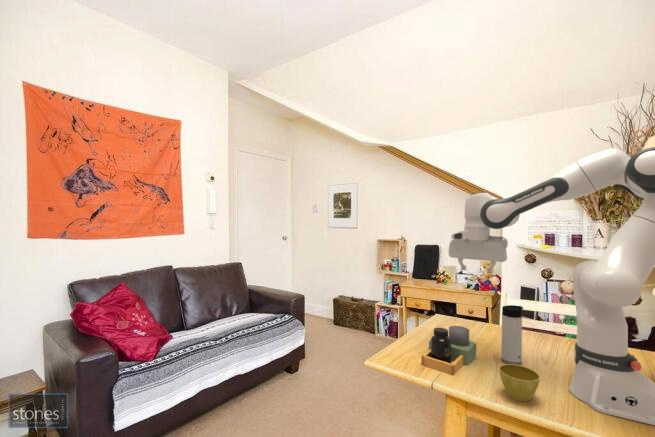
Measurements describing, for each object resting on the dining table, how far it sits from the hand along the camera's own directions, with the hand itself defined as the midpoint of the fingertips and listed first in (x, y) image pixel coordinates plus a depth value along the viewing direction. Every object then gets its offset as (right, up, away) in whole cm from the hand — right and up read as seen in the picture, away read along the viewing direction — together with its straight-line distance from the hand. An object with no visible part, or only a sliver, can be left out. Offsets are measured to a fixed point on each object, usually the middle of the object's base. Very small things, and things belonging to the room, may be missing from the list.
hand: (476, 271), depth 120 cm
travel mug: (+10, -31, -7) cm, 34 cm away
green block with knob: (-10, -31, -2) cm, 33 cm away
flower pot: (-1, -32, -29) cm, 43 cm away
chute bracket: (-16, -31, -9) cm, 36 cm away
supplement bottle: (-17, -31, -9) cm, 37 cm away
